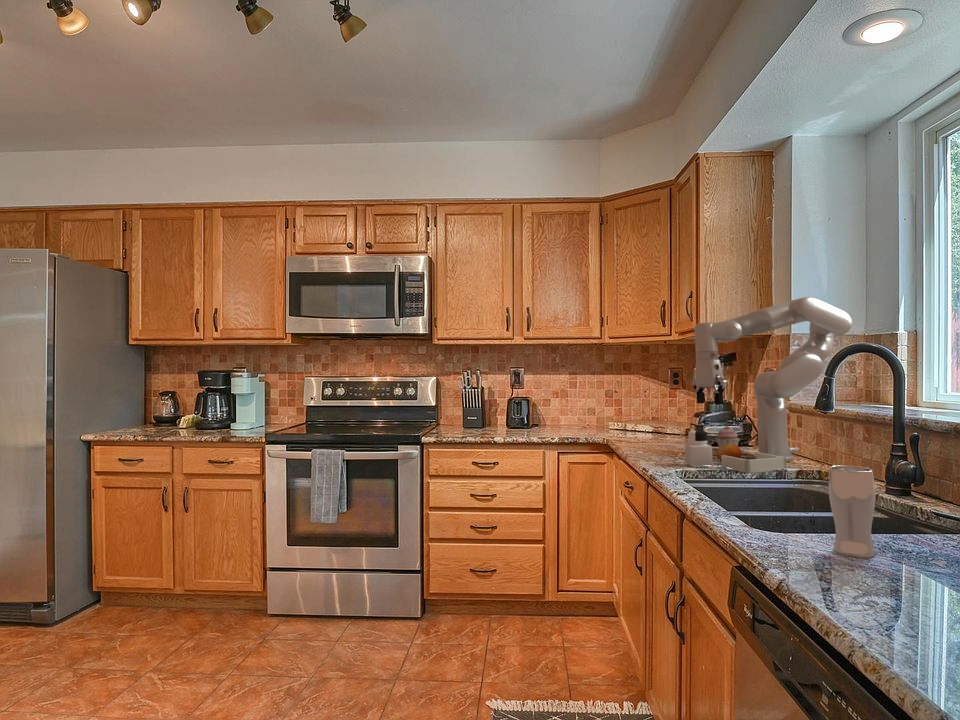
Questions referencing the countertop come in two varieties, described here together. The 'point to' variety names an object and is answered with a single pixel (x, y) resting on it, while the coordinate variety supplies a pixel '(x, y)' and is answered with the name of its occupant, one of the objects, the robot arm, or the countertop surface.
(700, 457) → the medicine bottle
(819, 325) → the robot arm
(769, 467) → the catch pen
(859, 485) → the beer glass
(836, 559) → the countertop surface
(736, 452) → the fruit
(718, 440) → the cupcake
